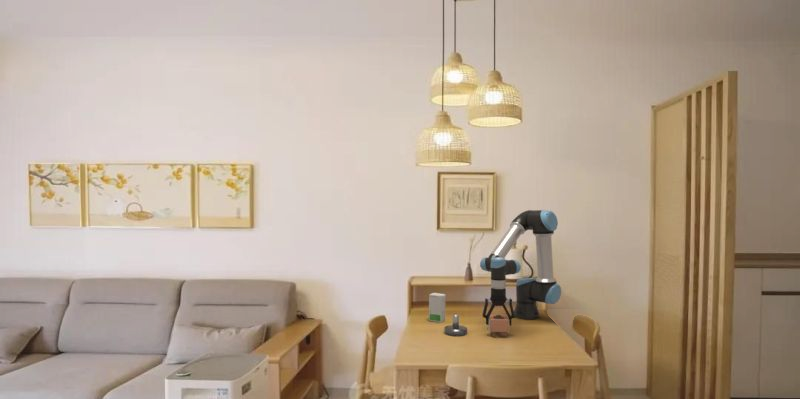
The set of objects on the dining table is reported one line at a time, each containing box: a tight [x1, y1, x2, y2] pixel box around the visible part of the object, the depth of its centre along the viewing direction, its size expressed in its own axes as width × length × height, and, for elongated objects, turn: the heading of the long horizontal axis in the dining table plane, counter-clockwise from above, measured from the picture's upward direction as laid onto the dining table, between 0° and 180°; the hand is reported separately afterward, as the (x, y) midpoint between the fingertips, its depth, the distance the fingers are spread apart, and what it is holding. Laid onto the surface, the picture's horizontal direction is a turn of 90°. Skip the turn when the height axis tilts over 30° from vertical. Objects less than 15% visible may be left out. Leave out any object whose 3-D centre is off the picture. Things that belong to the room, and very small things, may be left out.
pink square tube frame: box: [489, 314, 510, 333], centre depth 219 cm, size 9×9×6 cm
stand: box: [490, 314, 508, 338], centre depth 219 cm, size 7×7×10 cm
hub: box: [443, 313, 468, 337], centre depth 223 cm, size 12×12×10 cm
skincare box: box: [428, 292, 447, 323], centre depth 248 cm, size 8×7×16 cm
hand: (498, 331), depth 219 cm, fingers closed on pink square tube frame, 9 cm apart
